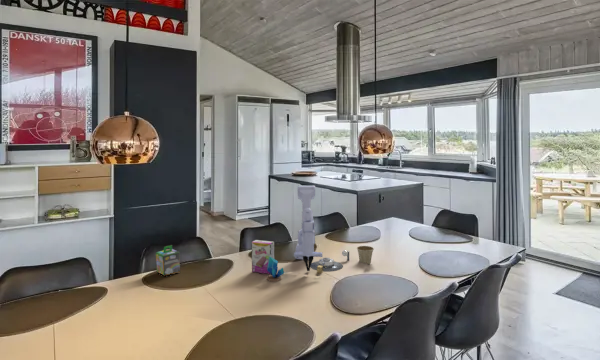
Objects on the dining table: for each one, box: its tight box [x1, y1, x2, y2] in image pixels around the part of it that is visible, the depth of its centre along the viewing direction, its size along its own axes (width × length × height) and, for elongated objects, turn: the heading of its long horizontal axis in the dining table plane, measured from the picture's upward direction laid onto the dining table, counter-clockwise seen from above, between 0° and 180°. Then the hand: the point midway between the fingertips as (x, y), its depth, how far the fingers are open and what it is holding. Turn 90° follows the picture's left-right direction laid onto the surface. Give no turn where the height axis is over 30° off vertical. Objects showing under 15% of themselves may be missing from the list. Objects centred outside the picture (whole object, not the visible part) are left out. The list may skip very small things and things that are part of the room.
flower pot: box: [356, 245, 375, 265], centre depth 206 cm, size 9×9×9 cm
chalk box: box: [155, 244, 181, 275], centre depth 193 cm, size 9×9×15 cm
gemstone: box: [266, 257, 284, 282], centre depth 183 cm, size 7×9×12 cm
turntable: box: [310, 260, 344, 274], centre depth 198 cm, size 18×21×4 cm
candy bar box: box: [251, 239, 275, 275], centre depth 193 cm, size 11×5×16 cm, turn 71°
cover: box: [318, 256, 335, 268], centre depth 199 cm, size 8×8×4 cm
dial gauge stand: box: [341, 249, 350, 261], centre depth 209 cm, size 5×4×7 cm
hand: (308, 270), depth 190 cm, fingers closed
